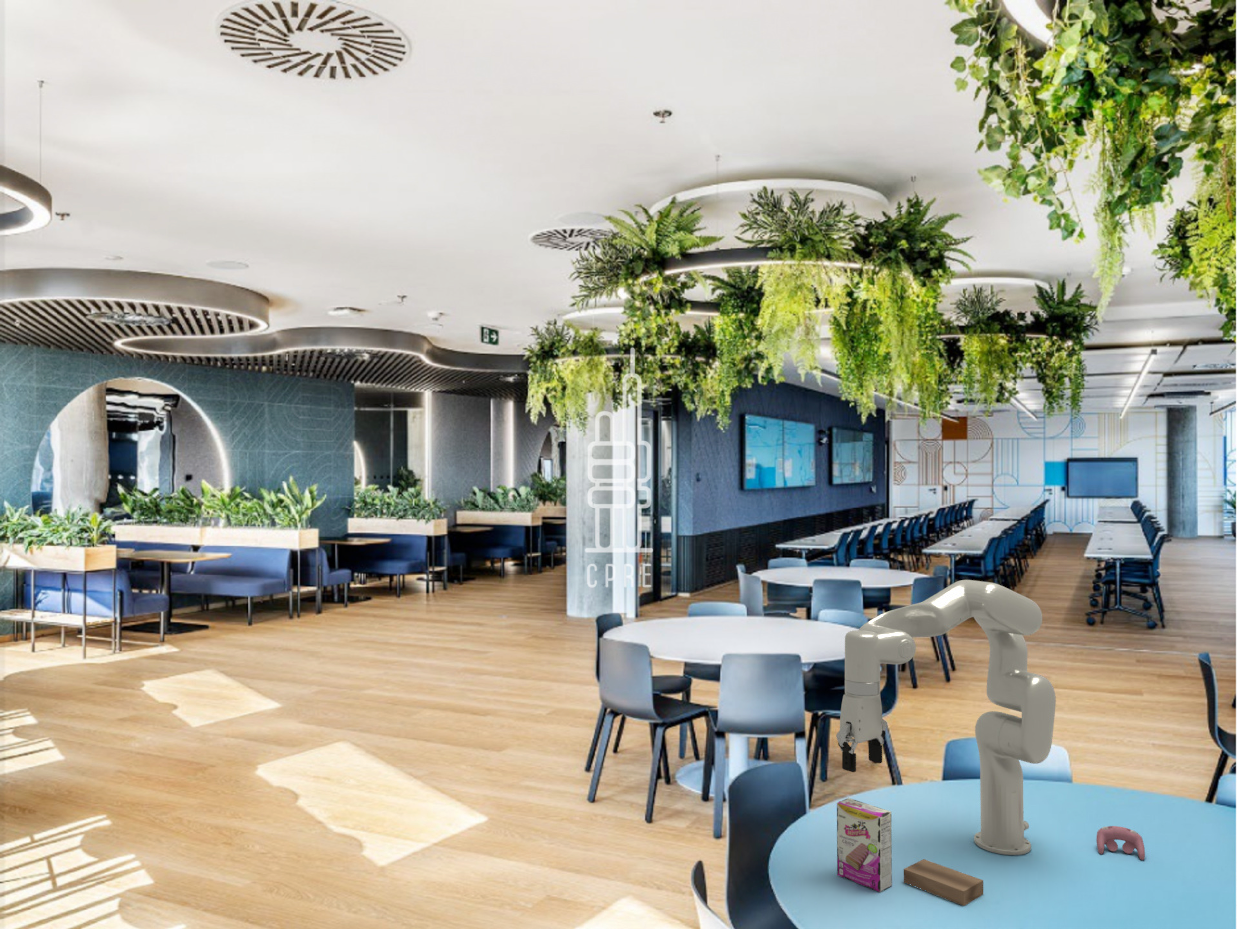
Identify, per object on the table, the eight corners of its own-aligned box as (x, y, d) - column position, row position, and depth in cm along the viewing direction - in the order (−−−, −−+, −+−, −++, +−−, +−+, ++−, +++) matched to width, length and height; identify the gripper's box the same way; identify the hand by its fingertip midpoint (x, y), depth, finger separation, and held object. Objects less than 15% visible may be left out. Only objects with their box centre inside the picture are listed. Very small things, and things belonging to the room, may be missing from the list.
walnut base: (923, 872, 200) (923, 858, 200) (983, 894, 189) (983, 880, 189) (903, 882, 195) (903, 868, 195) (963, 906, 184) (963, 891, 184)
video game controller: (1144, 862, 209) (1142, 830, 212) (1146, 860, 205) (1144, 828, 208) (1096, 855, 213) (1095, 824, 216) (1097, 853, 209) (1096, 821, 212)
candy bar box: (835, 876, 198) (835, 802, 198) (848, 869, 201) (848, 796, 202) (880, 893, 190) (879, 816, 190) (893, 886, 193) (892, 810, 193)
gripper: (870, 679, 205) (870, 754, 204) (824, 690, 194) (824, 769, 193) (899, 685, 199) (899, 762, 199) (853, 696, 188) (853, 778, 188)
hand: (862, 766), depth 196 cm, fingers open, 9 cm apart
